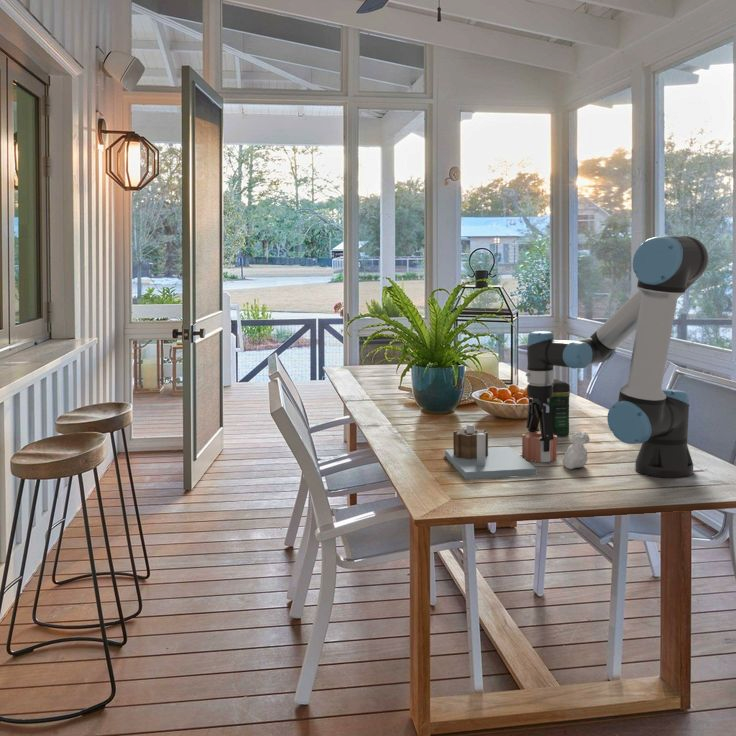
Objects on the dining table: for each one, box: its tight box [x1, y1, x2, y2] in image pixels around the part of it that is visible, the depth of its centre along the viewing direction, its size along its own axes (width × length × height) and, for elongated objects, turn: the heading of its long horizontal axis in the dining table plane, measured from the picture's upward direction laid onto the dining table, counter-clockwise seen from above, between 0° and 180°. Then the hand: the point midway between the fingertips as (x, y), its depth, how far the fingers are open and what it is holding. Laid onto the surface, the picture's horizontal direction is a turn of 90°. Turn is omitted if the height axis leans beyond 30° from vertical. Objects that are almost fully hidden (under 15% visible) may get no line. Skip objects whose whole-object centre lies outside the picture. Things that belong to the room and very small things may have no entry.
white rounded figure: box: [561, 430, 591, 470], centre depth 226 cm, size 12×8×11 cm
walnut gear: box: [452, 428, 489, 459], centre depth 234 cm, size 10×10×7 cm
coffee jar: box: [547, 378, 571, 438], centre depth 267 cm, size 10×8×19 cm
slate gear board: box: [444, 424, 537, 480], centre depth 229 cm, size 26×20×11 cm
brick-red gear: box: [521, 431, 558, 463], centre depth 236 cm, size 10×10×7 cm
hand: (539, 457), depth 237 cm, fingers closed on brick-red gear, 10 cm apart
